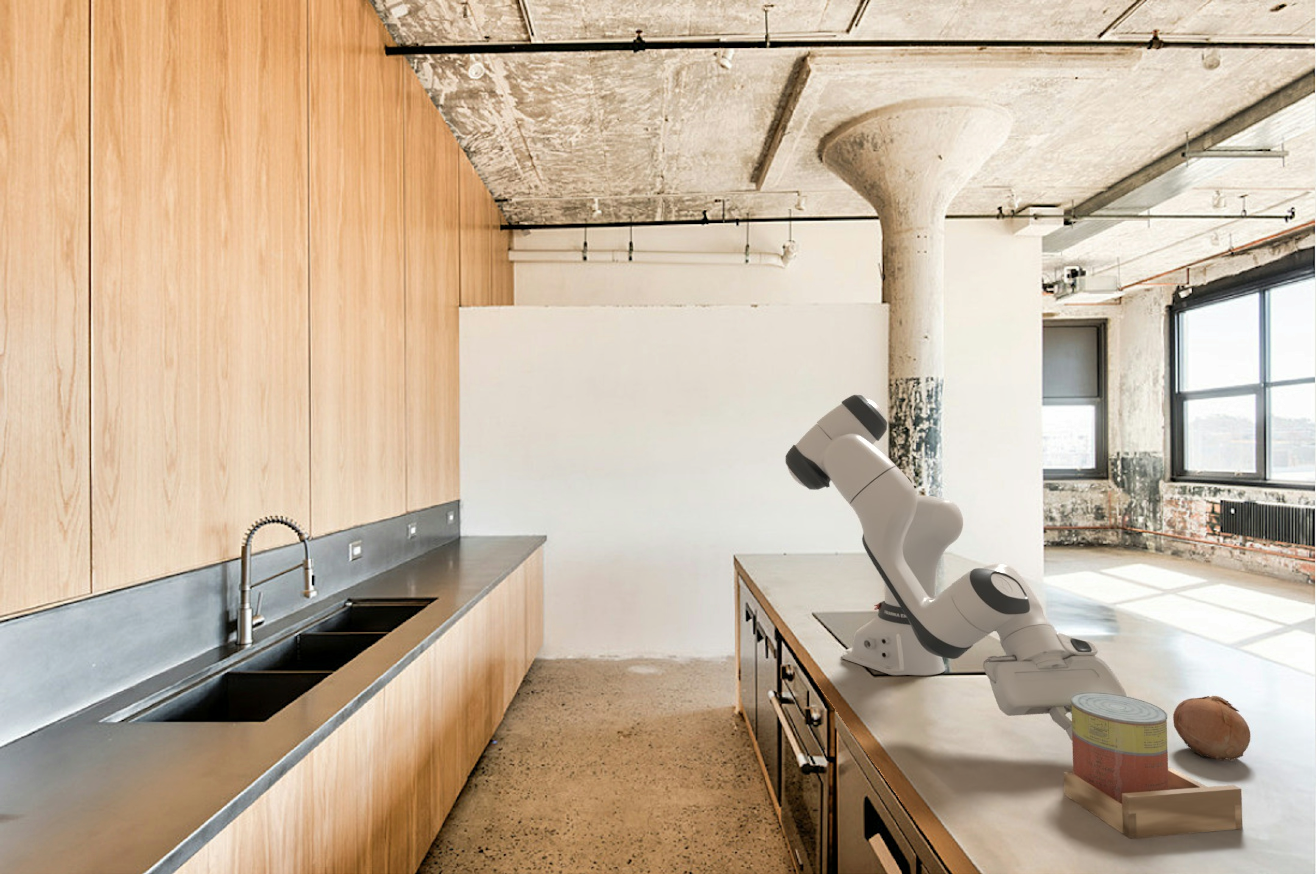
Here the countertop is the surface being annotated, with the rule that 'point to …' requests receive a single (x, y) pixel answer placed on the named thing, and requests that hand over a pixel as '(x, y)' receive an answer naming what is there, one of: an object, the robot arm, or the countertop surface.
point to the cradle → (1163, 807)
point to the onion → (1212, 727)
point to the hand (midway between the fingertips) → (1083, 739)
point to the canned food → (1119, 744)
